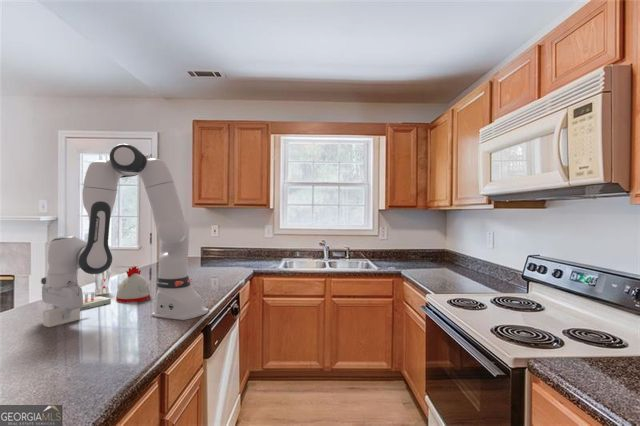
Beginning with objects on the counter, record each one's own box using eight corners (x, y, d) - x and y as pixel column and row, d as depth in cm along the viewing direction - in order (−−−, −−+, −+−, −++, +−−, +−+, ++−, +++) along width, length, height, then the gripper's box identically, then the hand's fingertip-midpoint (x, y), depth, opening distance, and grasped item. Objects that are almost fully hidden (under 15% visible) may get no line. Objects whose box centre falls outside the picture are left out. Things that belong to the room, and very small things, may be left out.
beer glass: (113, 292, 167) (114, 262, 167) (100, 295, 161) (100, 264, 161) (103, 291, 170) (103, 261, 169) (89, 294, 163) (90, 263, 163)
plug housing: (92, 316, 131) (92, 303, 131) (48, 327, 118) (49, 312, 118) (86, 314, 133) (86, 301, 132) (42, 325, 120) (43, 311, 120)
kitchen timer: (108, 301, 152) (109, 268, 152) (131, 294, 166) (132, 263, 166) (134, 303, 149) (135, 270, 149) (156, 296, 163) (157, 265, 163)
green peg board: (110, 303, 149) (110, 290, 149) (70, 312, 135) (70, 298, 135) (99, 300, 153) (100, 288, 153) (59, 309, 138) (59, 296, 138)
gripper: (88, 281, 121) (87, 320, 121) (57, 275, 130) (56, 311, 130) (69, 285, 116) (68, 325, 116) (38, 278, 125) (37, 315, 125)
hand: (62, 317), depth 123 cm, fingers closed on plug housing, 4 cm apart
